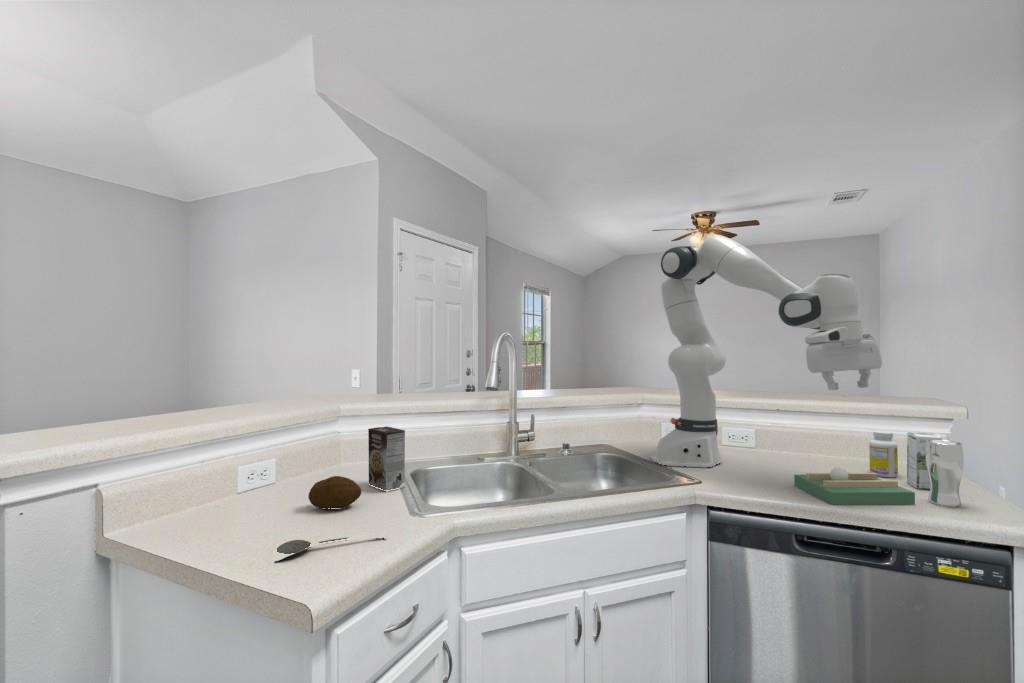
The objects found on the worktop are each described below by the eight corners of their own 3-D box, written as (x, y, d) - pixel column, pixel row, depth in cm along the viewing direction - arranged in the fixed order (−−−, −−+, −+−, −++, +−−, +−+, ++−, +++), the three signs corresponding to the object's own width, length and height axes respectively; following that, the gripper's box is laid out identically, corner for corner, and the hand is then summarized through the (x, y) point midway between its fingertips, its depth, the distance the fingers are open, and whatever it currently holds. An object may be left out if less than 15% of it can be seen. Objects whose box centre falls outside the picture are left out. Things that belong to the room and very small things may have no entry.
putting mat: (832, 504, 118) (832, 486, 118) (794, 485, 134) (794, 469, 134) (915, 504, 118) (914, 486, 118) (867, 485, 134) (867, 468, 134)
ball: (836, 485, 124) (836, 469, 124) (826, 480, 128) (826, 465, 128) (852, 485, 124) (852, 469, 124) (841, 480, 128) (841, 465, 128)
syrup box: (931, 485, 133) (931, 432, 133) (943, 491, 128) (942, 436, 128) (906, 483, 135) (906, 431, 135) (916, 489, 130) (916, 435, 130)
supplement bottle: (888, 472, 146) (887, 430, 146) (903, 478, 140) (903, 434, 140) (864, 471, 147) (864, 429, 147) (878, 478, 141) (878, 433, 141)
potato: (311, 504, 120) (311, 473, 120) (363, 500, 123) (363, 470, 123) (304, 515, 113) (304, 482, 113) (360, 511, 115) (360, 479, 115)
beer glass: (967, 510, 114) (966, 446, 114) (928, 504, 117) (928, 443, 117) (959, 501, 120) (959, 441, 120) (923, 497, 123) (922, 438, 123)
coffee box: (367, 486, 135) (367, 428, 136) (387, 481, 140) (387, 425, 140) (385, 493, 129) (385, 432, 129) (405, 487, 134) (405, 429, 134)
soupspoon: (268, 556, 94) (266, 573, 88) (267, 539, 93) (265, 555, 87) (384, 534, 102) (389, 547, 96) (384, 518, 102) (389, 531, 96)
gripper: (862, 335, 131) (869, 386, 129) (799, 338, 126) (805, 391, 125) (885, 332, 125) (892, 385, 123) (819, 335, 120) (826, 391, 118)
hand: (848, 388), depth 124 cm, fingers open, 8 cm apart
